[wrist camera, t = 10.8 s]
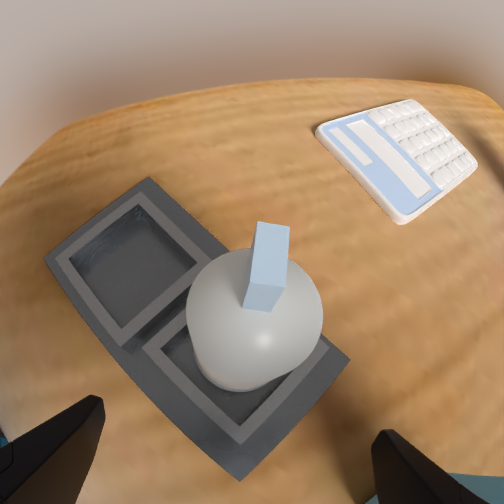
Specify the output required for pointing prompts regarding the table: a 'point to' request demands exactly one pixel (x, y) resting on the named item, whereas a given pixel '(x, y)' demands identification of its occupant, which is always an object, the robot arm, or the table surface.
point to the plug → (253, 313)
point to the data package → (476, 487)
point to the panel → (177, 326)
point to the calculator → (398, 156)
